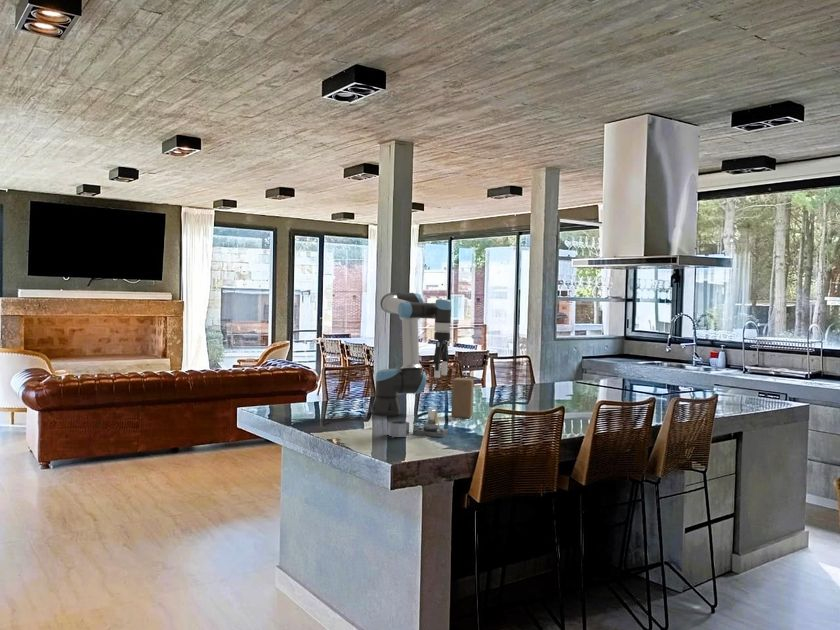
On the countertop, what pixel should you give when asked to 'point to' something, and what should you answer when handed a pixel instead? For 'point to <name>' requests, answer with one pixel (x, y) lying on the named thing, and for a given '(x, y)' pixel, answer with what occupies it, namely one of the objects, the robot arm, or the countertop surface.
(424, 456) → the countertop surface
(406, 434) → the hub
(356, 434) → the countertop surface
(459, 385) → the wooden block
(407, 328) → the robot arm
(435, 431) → the shaft stand
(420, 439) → the countertop surface
